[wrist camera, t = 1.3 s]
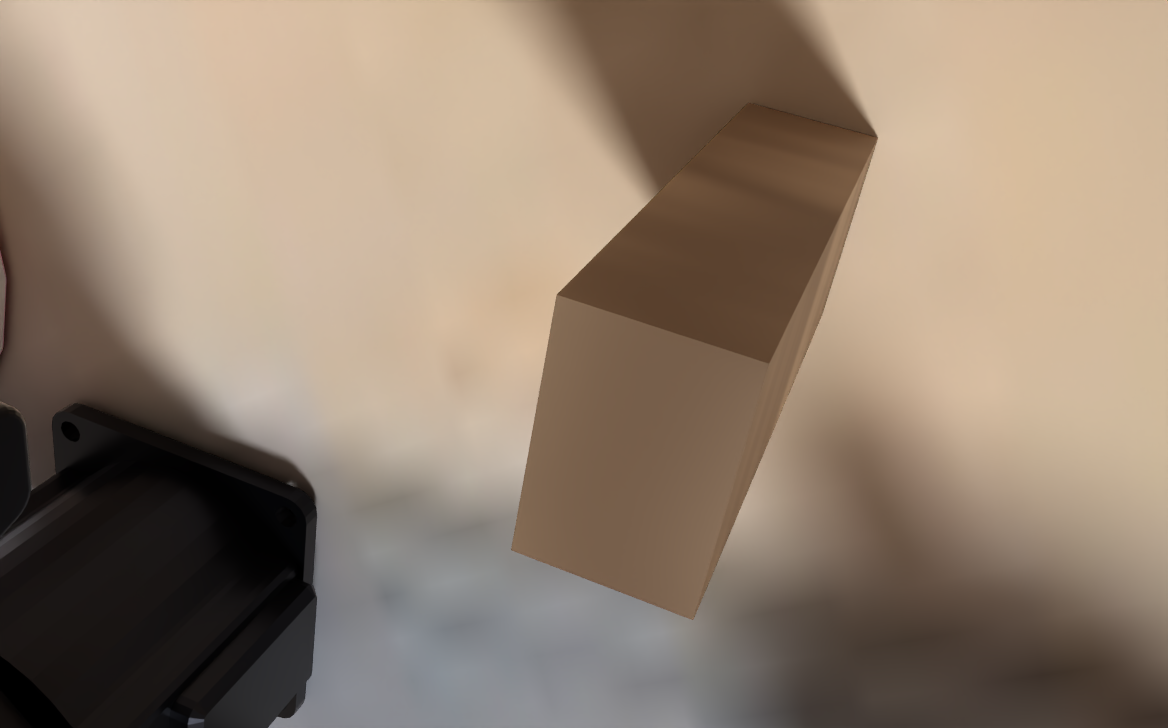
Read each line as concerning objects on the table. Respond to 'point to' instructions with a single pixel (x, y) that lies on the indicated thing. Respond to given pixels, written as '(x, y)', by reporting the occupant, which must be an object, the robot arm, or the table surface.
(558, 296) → the tan wooden plank
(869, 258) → the table surface
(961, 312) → the table surface
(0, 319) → the teacup
